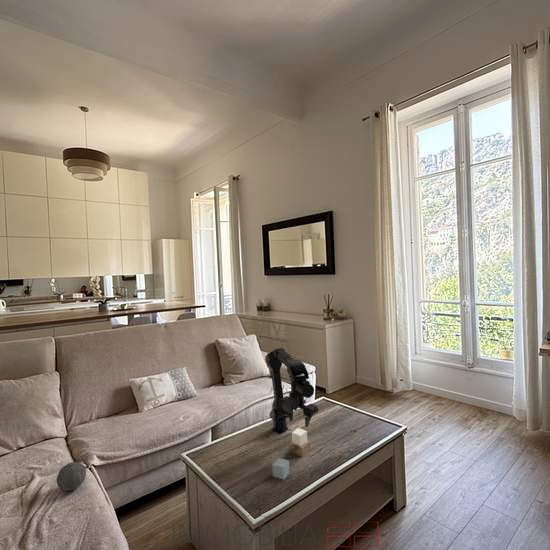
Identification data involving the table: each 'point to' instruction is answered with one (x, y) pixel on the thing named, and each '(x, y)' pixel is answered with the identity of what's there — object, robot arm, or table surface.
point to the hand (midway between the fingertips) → (298, 423)
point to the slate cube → (280, 468)
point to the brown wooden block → (299, 448)
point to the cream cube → (299, 437)
